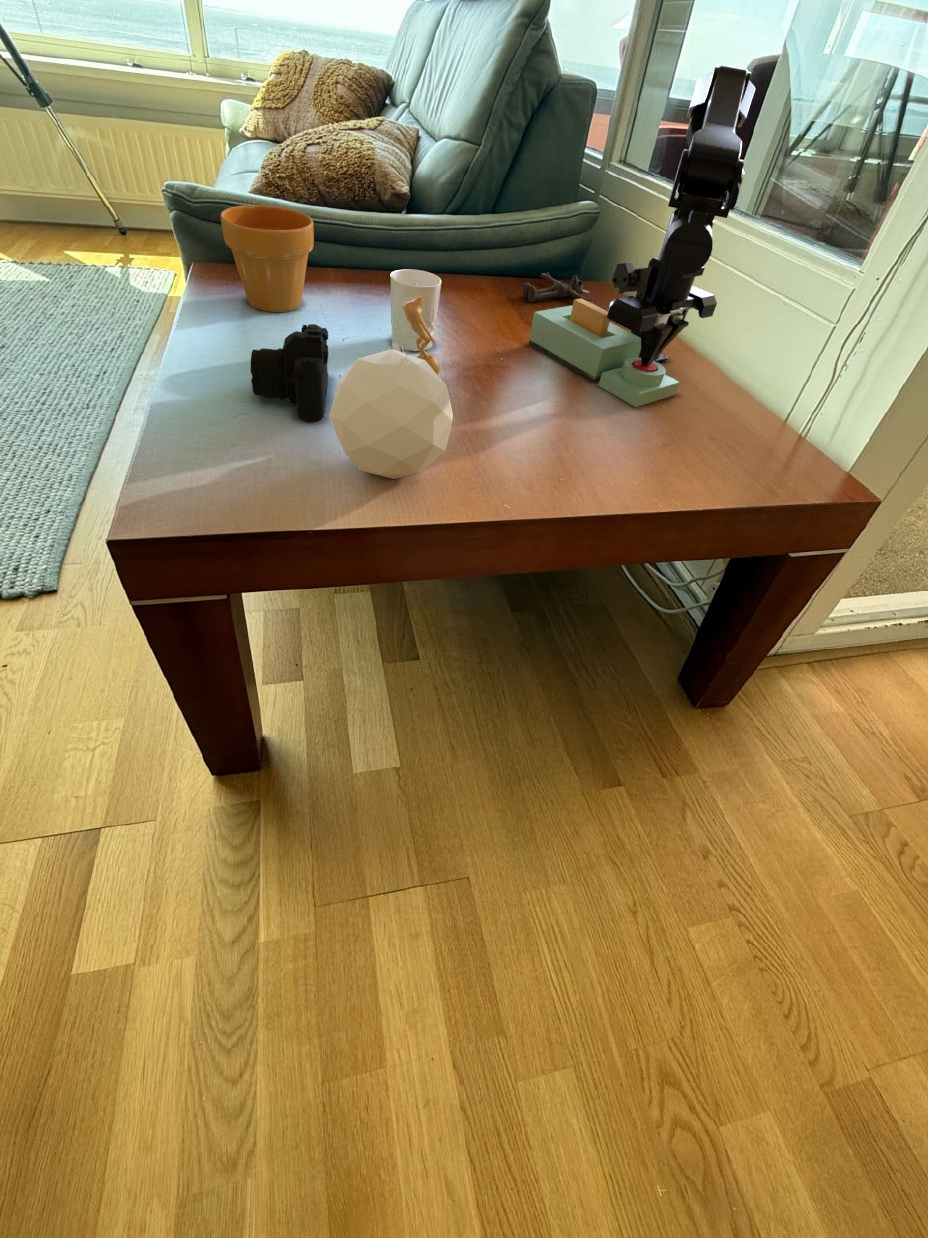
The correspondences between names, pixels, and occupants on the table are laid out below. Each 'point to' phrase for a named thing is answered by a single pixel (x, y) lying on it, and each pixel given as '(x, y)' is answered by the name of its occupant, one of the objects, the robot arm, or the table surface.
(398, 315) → the white cup
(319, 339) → the film camera
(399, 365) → the geodesic sphere
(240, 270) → the flower pot
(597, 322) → the toast
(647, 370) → the button
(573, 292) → the brown humanoid figure
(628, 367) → the control block
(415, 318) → the figurine
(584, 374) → the toaster
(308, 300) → the table surface
